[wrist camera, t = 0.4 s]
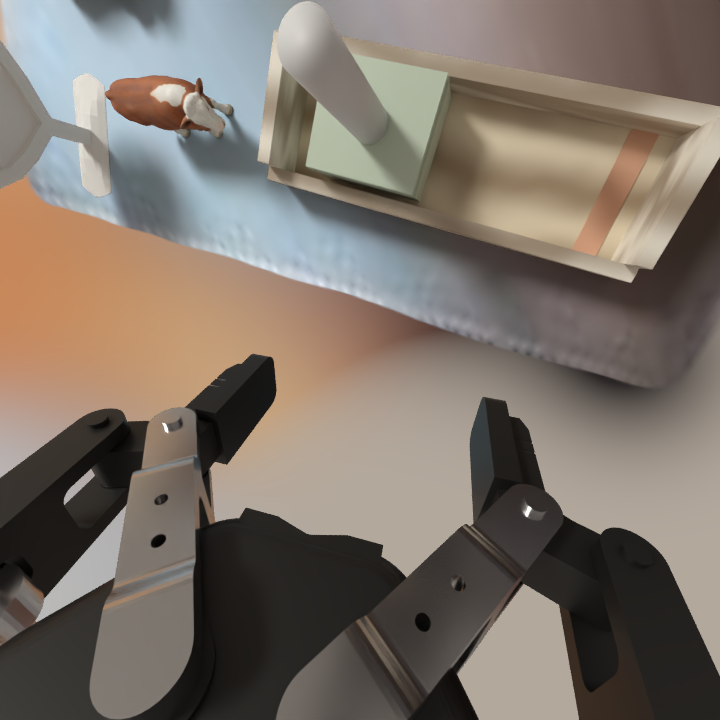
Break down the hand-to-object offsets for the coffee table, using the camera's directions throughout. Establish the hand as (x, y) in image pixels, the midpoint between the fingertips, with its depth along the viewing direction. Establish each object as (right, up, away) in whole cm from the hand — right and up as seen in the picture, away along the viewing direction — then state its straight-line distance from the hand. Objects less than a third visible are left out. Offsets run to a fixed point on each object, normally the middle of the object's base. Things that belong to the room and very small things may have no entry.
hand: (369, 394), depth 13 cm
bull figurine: (-17, +28, +25) cm, 41 cm away
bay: (+9, +20, +19) cm, 29 cm away
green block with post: (+2, +22, +19) cm, 29 cm away
